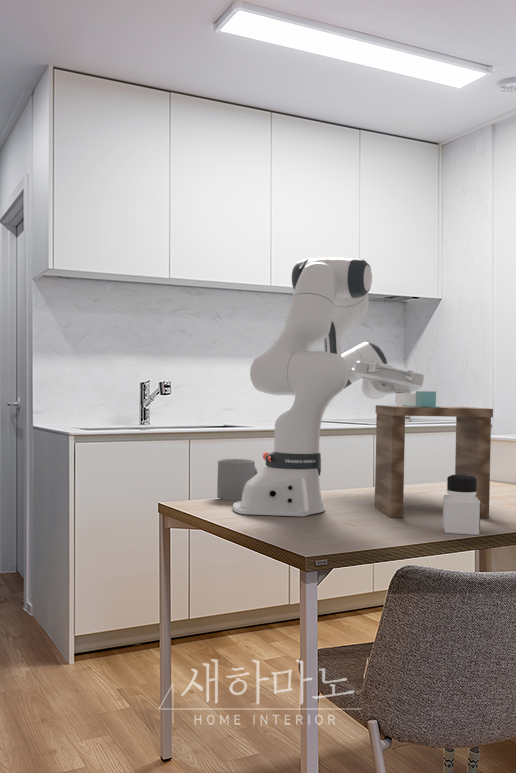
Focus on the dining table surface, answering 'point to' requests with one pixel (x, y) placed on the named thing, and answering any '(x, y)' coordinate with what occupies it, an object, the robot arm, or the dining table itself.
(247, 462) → the coffee mug
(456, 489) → the medicine bottle
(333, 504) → the dining table surface
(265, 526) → the dining table surface
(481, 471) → the shelf
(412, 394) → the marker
